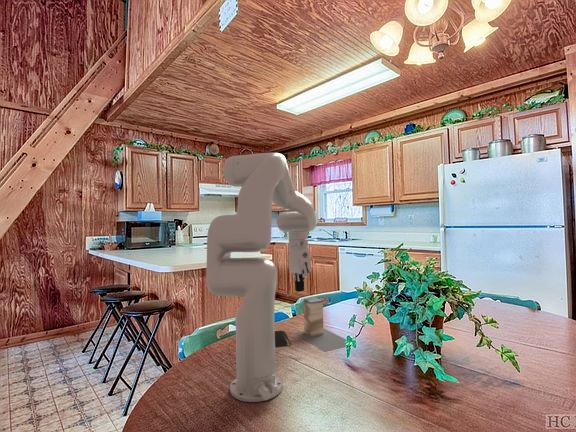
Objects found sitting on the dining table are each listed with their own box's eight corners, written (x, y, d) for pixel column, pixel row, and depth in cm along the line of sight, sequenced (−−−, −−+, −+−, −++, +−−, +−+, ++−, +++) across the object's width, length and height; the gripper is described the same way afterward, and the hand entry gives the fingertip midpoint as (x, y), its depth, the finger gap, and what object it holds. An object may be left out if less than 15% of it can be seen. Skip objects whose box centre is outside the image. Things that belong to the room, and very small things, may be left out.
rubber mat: (355, 346, 102) (355, 344, 102) (324, 353, 96) (324, 351, 96) (321, 328, 120) (321, 327, 120) (293, 334, 114) (293, 332, 114)
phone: (283, 330, 117) (291, 345, 102) (283, 333, 117) (291, 348, 102) (262, 332, 115) (267, 347, 101) (262, 335, 115) (267, 350, 101)
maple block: (323, 333, 112) (322, 300, 113) (311, 336, 110) (310, 301, 110) (316, 330, 117) (315, 297, 117) (304, 332, 114) (303, 299, 115)
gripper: (316, 244, 118) (318, 293, 118) (297, 242, 132) (298, 286, 131) (299, 245, 115) (300, 296, 115) (281, 243, 128) (282, 288, 128)
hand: (299, 290), depth 123 cm, fingers closed
